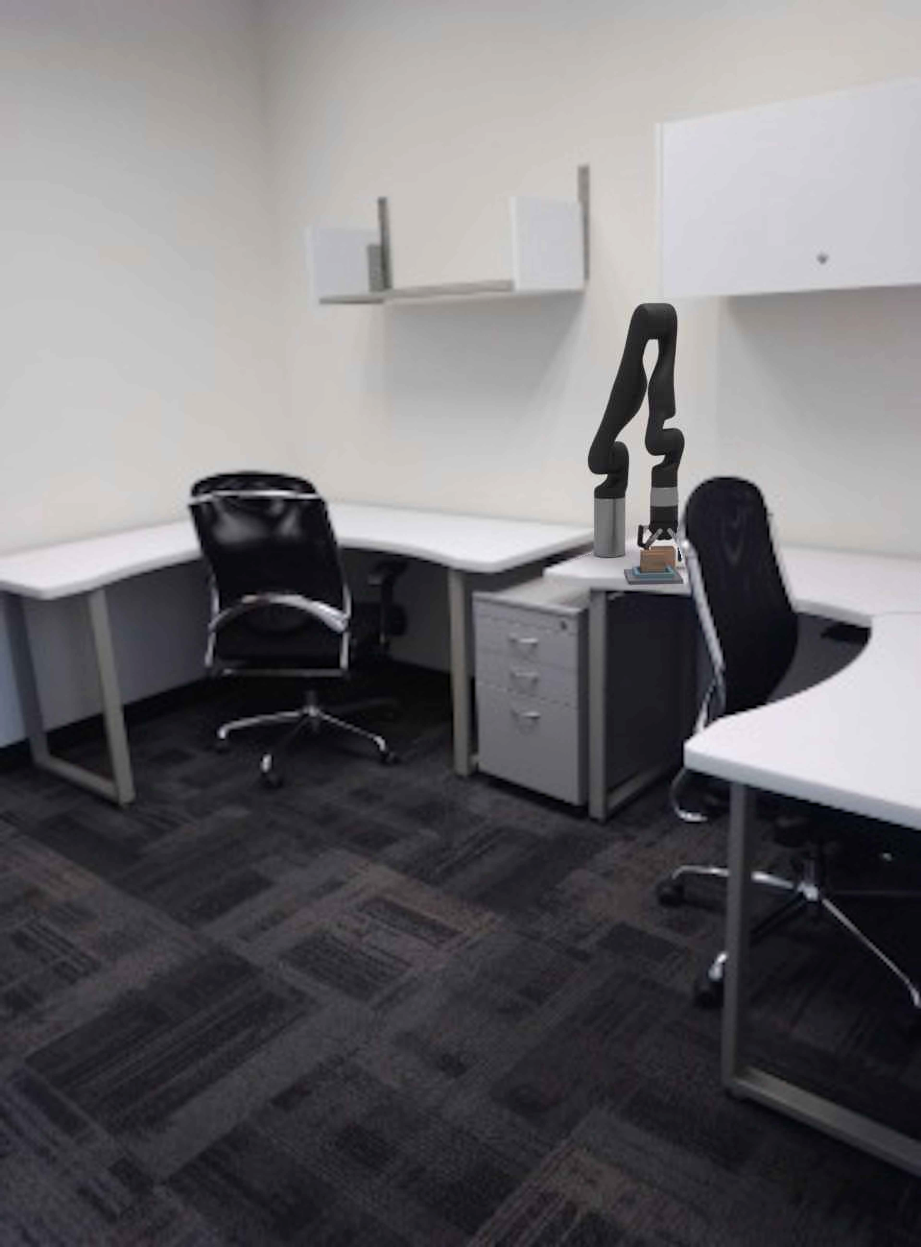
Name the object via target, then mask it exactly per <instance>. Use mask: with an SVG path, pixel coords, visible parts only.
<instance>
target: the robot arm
mask: <svg viewBox="0 0 921 1247" xmlns="http://www.w3.org/2000/svg"><path fill="white" fill-rule="evenodd" d="M678 321H679V319H678V314H677V311H676V309H675V307H674V306H673V305H672V304H671V303H668V302H645V303H644V302H643V303H641V304H639V305H637V306H636V307H635V309H634V311H633V313H632V315H631V318H630V323H629V325H628V330H627V334H626V340H625V344H624V349H623V353H622V356H621V360H620V363H619V366H618V371H617V373H616V377H615V379H614V382H613V385H612V388H611V390H610V394H609V397H608V402H607V404H606V408H605V410H604V413H603V416H602V420H601V421H600V424H599V426H598V429H597V431H596V434H595V436H594V438H593V441H592V443H591V445H590V448H589V450H588V454H587V466H588V469H589V471H590V473H592V474H593V475H597V476H598V475H600V476H603V475H607V476H606V478H605V479H604V481H603V482H601V483H599V485H597V486H595V488H594V490H593V554H594V556H596V557H602V558H617V557H622V556H625V555H626V496H627V495H626V493H627V489H628V487H629V473H630V472H629V471H630V453H629V449H628V447H627V445H626V444H625V443H624V442H623V441H620V440H617V438H618V436H619V434H620V433H621V431H623V430H624V428H625V427H627V425H628V424H629V423H630V422H631V421H632V420H633V419H634V418H635V417H636V415H637V414H638V413H639V411H640V410H641V408H642V405H643V402H644V399H645V397H646V395H647V399H648V400H647V402H648V417H647V424H646V425H647V426H646V430H645V435H644V448H645V449H646V451H647V453H648V454H649V455H650V456H653V457H660V456H663V459H662V461H661V462H660V463H658V464H655V465H654V466H652V468H651V471H650V472H651V473H650V475H651V476H650V480H651V481H650V487H651V488H650V493H649V494H650V497H649V498H650V499H649V524H648V525H643V524H639V525H638V528H637V537H636V538H637V539H636V541H637V543H636V544H637V547H638V548H642V549H643V550H651V546H653V544H654V543H655V542H656V541H658V542H660V541H671V540H673V541H674V542H675V543H676V544H677V545H678V543H677V537H678V536H677V533H678V532H677V527H678V523H679V501H680V500H679V489H678V485H679V484H678V482H679V481H678V477H679V476H678V475H679V474H678V472H679V468H680V465H681V462H682V458H683V454H684V450H685V445H686V444H685V436H684V434H683V431H682V430H681V429H680V428H677V427H668V428H664V425H665V422H666V421H667V420H669V419H670V420H671V419H673V418H674V417H675V416H676V411H677V409H676V407H677V406H676V397H675V396H676V394H675V367H676V366H675V365H676V364H675V363H676V352H677V341H678V340H677V339H678V324H679V323H678ZM651 340H652V341H653V340H657V346H658V347H657V348H658V351H657V353H658V354H657V357H656V358H657V359H656V362H655V366H654V368H653V371H652V373H651V375H650V377H649V382H648V378H647V374H646V369H645V366H644V355H645V351H646V347H647V344H648V343H649V341H651ZM647 530H648V531H649V533H650V536H648V538H647V540H646V541H645V542H644V534H646V532H647ZM682 560H683V559H682V558H681V554H680V551H679V548H678V547H677V561H678V563H680V562H682Z"/></svg>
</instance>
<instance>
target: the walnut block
mask: <svg viewBox="0 0 921 1247" xmlns="http://www.w3.org/2000/svg"><path fill="white" fill-rule="evenodd" d="M639 553H640V554H639V566H640V573H666V553H665V552H664V550H651V549H650V550H644V549H640V552H639Z"/></svg>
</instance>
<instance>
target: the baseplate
mask: <svg viewBox="0 0 921 1247" xmlns="http://www.w3.org/2000/svg"><path fill="white" fill-rule="evenodd" d="M623 574H624V577H625V579H626V581H627V584H628V585H663V584H666V585H667V584H684V578H683V577H682V575H681V574H680V572H679V571H678V569H677V567H675V568H671V567H670V566H669V565H666V573H640V565H632V566H631V568H623Z"/></svg>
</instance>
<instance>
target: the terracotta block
mask: <svg viewBox="0 0 921 1247" xmlns="http://www.w3.org/2000/svg"><path fill="white" fill-rule="evenodd" d="M650 550H664V552H665V553H666V565H669V566H670V567H671V568H676V558H677V557H676V548H675V547H674V546H673V545H651V546H650Z"/></svg>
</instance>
